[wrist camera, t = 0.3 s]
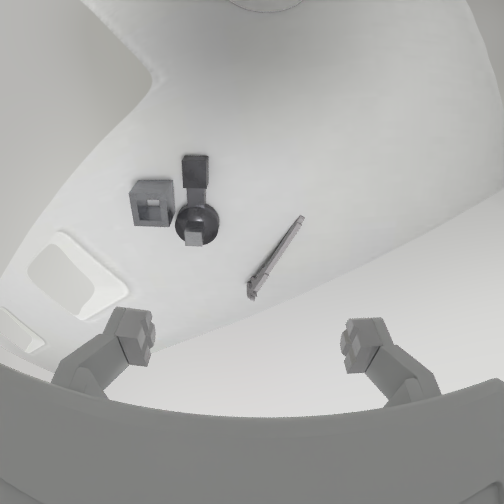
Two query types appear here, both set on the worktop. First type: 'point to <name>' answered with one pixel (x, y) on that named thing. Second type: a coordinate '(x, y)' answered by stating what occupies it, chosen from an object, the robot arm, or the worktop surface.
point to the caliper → (272, 261)
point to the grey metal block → (152, 214)
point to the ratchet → (196, 205)
